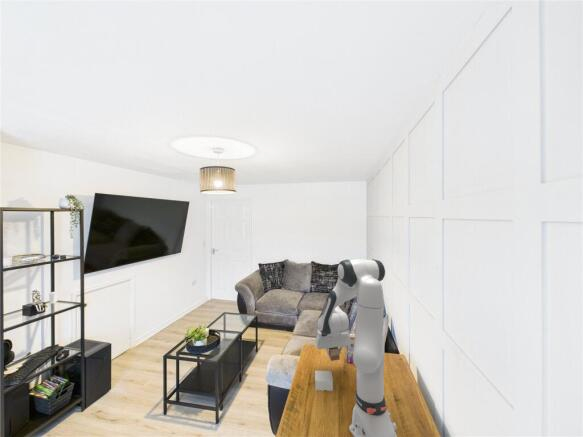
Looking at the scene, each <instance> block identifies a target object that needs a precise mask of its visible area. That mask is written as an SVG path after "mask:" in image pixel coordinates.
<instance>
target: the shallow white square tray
mask: <svg viewBox="0 0 583 437" xmlns="http://www.w3.org/2000/svg"><path fill="white" fill-rule="evenodd" d="M332 374H333V373H332V371H331V370H315V371H314V382H315V383H314V384H315V386H314V387H315V391H324V390H327V391H329V392H333V391H334V379H333V375H332Z"/></svg>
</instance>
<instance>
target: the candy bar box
mask: <svg viewBox="0 0 583 437" xmlns="http://www.w3.org/2000/svg"><path fill="white" fill-rule="evenodd" d="M354 338H355V333H350V340H351V344H350V346H345V347H346V348H345V350H346V351H345V358H346V363H347V364H348V363H349V364H354V362H353V350H354Z"/></svg>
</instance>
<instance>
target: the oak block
mask: <svg viewBox="0 0 583 437" xmlns="http://www.w3.org/2000/svg"><path fill="white" fill-rule="evenodd" d="M339 348H340V347H334V348H328V351H330V355H329V356H328V357H329V359H330V361H331V362H333V361H334V362H335V361H339V360H341V358H340V357H341V356H340V355H341V354H339Z"/></svg>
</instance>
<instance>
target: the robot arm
mask: <svg viewBox="0 0 583 437" xmlns="http://www.w3.org/2000/svg"><path fill="white" fill-rule="evenodd" d="M382 262H383V261H382ZM382 262H381V261H380V260H378V259H365V258H364V259H362V258H354V259H344V260H341V261H339V263H338V265H337V269H336V270H337V272H336V273H337V277H338V278H337V280H336V281H337V282H336V284H335V285H334V287H333V289H332V290H331V291H330V292H329V293H328V295H327V296H326V300H325V303H324V305H323V307H322V310H321V313H320V314H319V315H318V318H317V320H316V321H317V322H316V327H317V330H316V332H317V335H316V337H315V346H316V349H318V350H325V352H326V355H327V356H328V357H329V355H330V351H329V349H328V348H334V347H338V348H339V354H340V355H341V354H342V350H343V347H346V346H350V344H351V340H350V334H351V331H350V329H349V328H350V326H351V318H350V315H349V314H348V313H347V312H345V311H343V310H342V309H341V308H340V305H341V304H344V303H345V302H348V301H351V300H352V299H354V298H355V297H356V324H355V330H354V334H355V338H354V350H353V362H354V363H353V365H354V366H355V368H356V389H355V396H354V398H355V403H354V407H353V409H352V419H351V424H350V425H349V428H348V430H349V432H350V433H351V435H352V437H398V435H397V433H396V430H397V424H396V422H392V419H391V413H390V412H389V411H388V409H387V408H388V407H387V401H386V397H385V392H384V391H385V390H384V388H385V387H384V377H385V376H384V375H385V374H384V372H385V340H384V336H383V333H384V322H385V321H384V319H385V318H384V315H385V314H384V313H385V312H384V311H385V310H384V309H385V307H384V305H385V304H384V303H385V302H384V301H385V300H384V291H383V290H384V289H383V285H382V283H381V281H383V280H384V278H385V275H386V269H385V266H384V264H383V263H382Z"/></svg>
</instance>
